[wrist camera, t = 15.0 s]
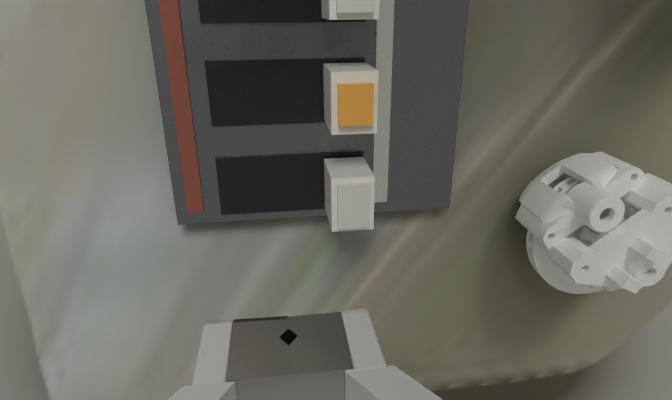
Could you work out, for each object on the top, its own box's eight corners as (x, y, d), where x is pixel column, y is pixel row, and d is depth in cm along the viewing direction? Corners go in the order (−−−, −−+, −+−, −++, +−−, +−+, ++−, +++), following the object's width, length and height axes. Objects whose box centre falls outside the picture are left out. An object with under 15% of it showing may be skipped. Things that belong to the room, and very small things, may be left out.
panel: (140, -64, 31) (133, -68, 29) (465, -61, 33) (475, -64, 32) (181, 216, 39) (177, 225, 37) (443, 201, 41) (450, 209, 40)
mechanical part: (538, 283, 46) (622, 370, 35) (475, 197, 41) (548, 265, 31) (639, 211, 44) (760, 279, 33) (585, 114, 40) (703, 155, 29)
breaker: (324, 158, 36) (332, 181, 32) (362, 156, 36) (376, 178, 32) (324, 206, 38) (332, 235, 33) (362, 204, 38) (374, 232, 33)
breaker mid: (323, 63, 33) (332, 72, 29) (365, 62, 34) (380, 71, 29) (324, 119, 35) (332, 137, 30) (364, 118, 35) (378, 135, 31)
